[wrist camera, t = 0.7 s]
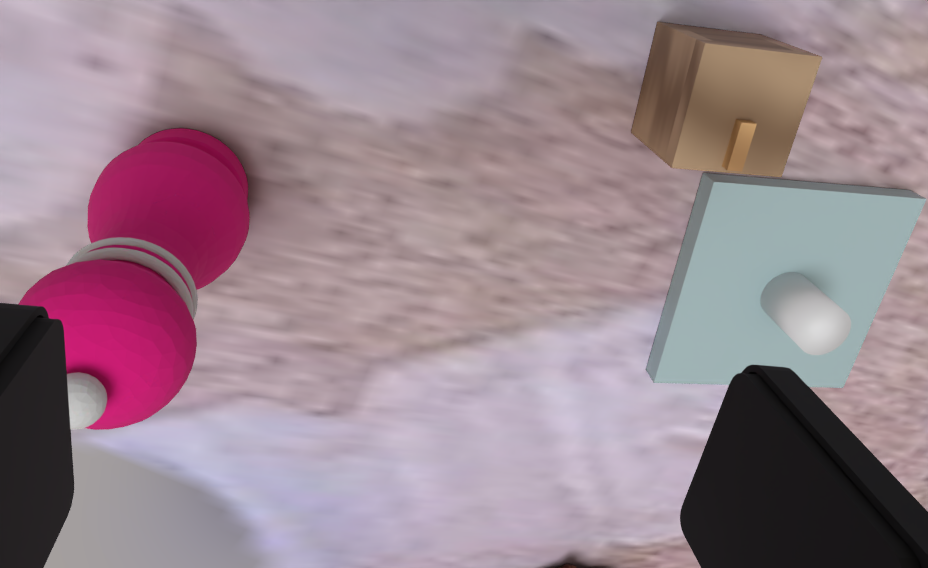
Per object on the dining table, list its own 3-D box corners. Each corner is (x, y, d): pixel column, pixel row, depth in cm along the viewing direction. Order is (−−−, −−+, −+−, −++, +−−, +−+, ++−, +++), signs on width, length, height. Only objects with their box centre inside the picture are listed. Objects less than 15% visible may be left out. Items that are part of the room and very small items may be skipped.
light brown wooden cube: (657, 21, 39) (710, 45, 33) (760, 34, 40) (829, 59, 35) (630, 132, 42) (676, 172, 36) (728, 141, 43) (787, 181, 37)
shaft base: (703, 172, 44) (751, 212, 39) (910, 190, 46) (982, 229, 41) (645, 369, 50) (680, 426, 45) (830, 375, 53) (884, 429, 48)
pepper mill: (283, 167, 40) (235, 386, 23) (216, 267, 42) (126, 537, 25) (156, 90, 37) (-8, 270, 20) (92, 201, 40) (-108, 451, 22)
